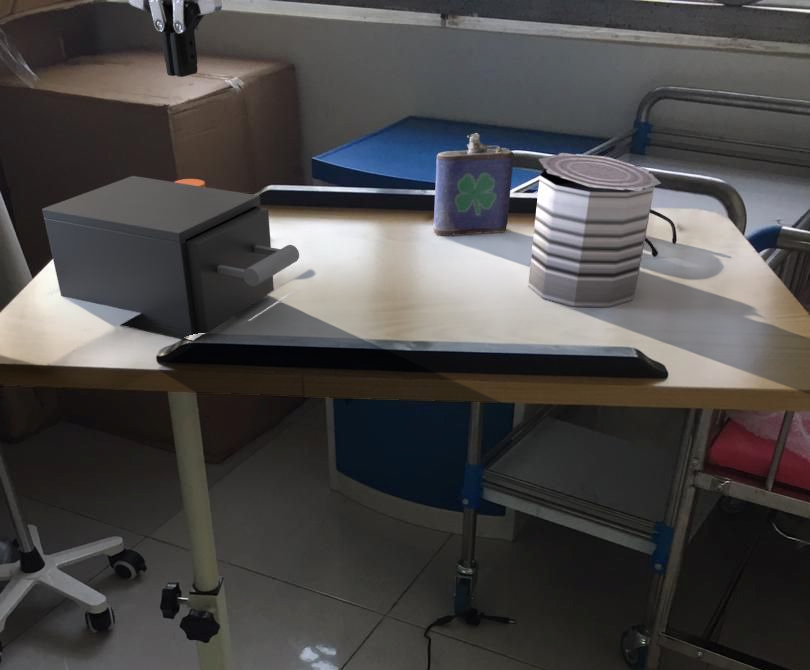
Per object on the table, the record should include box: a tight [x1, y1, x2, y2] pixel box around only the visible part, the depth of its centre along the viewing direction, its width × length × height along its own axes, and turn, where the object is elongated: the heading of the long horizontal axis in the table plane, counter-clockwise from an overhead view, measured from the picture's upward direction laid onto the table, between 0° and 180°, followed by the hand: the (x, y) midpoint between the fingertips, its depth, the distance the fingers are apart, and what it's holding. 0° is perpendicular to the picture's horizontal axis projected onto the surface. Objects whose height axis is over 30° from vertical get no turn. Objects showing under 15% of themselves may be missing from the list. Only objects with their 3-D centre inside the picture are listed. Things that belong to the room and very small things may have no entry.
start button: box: [174, 178, 206, 187], centre depth 102 cm, size 4×4×2 cm
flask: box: [432, 132, 515, 237], centre depth 103 cm, size 9×3×11 cm, turn 105°
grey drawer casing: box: [41, 175, 267, 340], centre depth 83 cm, size 15×13×10 cm
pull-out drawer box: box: [185, 207, 300, 333], centre depth 82 cm, size 18×11×8 cm, turn 66°
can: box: [527, 152, 662, 308], centre depth 88 cm, size 11×11×12 cm
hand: (182, 74), depth 93 cm, fingers closed
